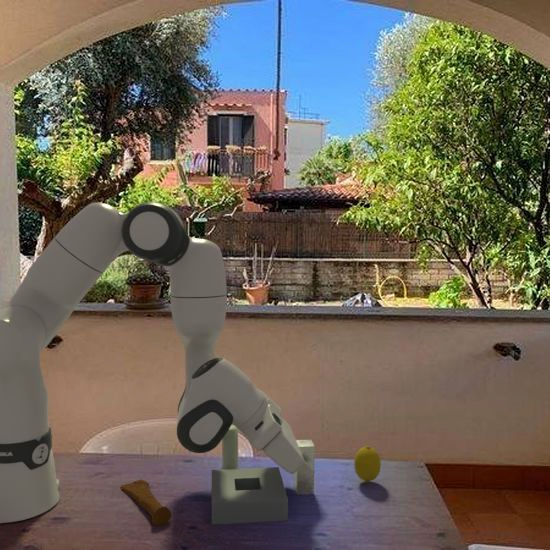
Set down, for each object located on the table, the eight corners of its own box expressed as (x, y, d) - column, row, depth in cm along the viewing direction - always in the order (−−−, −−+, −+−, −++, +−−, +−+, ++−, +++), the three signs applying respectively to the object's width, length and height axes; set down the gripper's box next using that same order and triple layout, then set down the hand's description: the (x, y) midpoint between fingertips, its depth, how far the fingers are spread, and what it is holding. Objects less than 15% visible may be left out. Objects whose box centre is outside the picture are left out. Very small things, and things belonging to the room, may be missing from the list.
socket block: (211, 524, 98) (211, 503, 98) (211, 488, 112) (211, 469, 112) (287, 520, 100) (288, 499, 100) (278, 485, 114) (278, 467, 113)
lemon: (383, 479, 117) (384, 444, 116) (375, 490, 112) (376, 453, 111) (358, 474, 119) (359, 439, 119) (350, 484, 114) (351, 448, 114)
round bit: (219, 473, 119) (219, 429, 118) (227, 467, 122) (227, 424, 122) (233, 476, 118) (233, 431, 117) (240, 470, 121) (240, 426, 120)
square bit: (296, 494, 110) (297, 446, 109) (294, 486, 113) (294, 440, 113) (313, 493, 110) (314, 446, 109) (310, 485, 114) (311, 439, 113)
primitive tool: (118, 488, 113) (118, 472, 112) (144, 481, 116) (144, 466, 116) (153, 531, 97) (153, 512, 97) (181, 522, 100) (181, 504, 100)
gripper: (246, 413, 120) (289, 454, 122) (253, 450, 99) (305, 498, 101) (266, 393, 120) (309, 434, 122) (277, 425, 100) (328, 474, 102)
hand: (307, 463), depth 111 cm, fingers open, 8 cm apart
